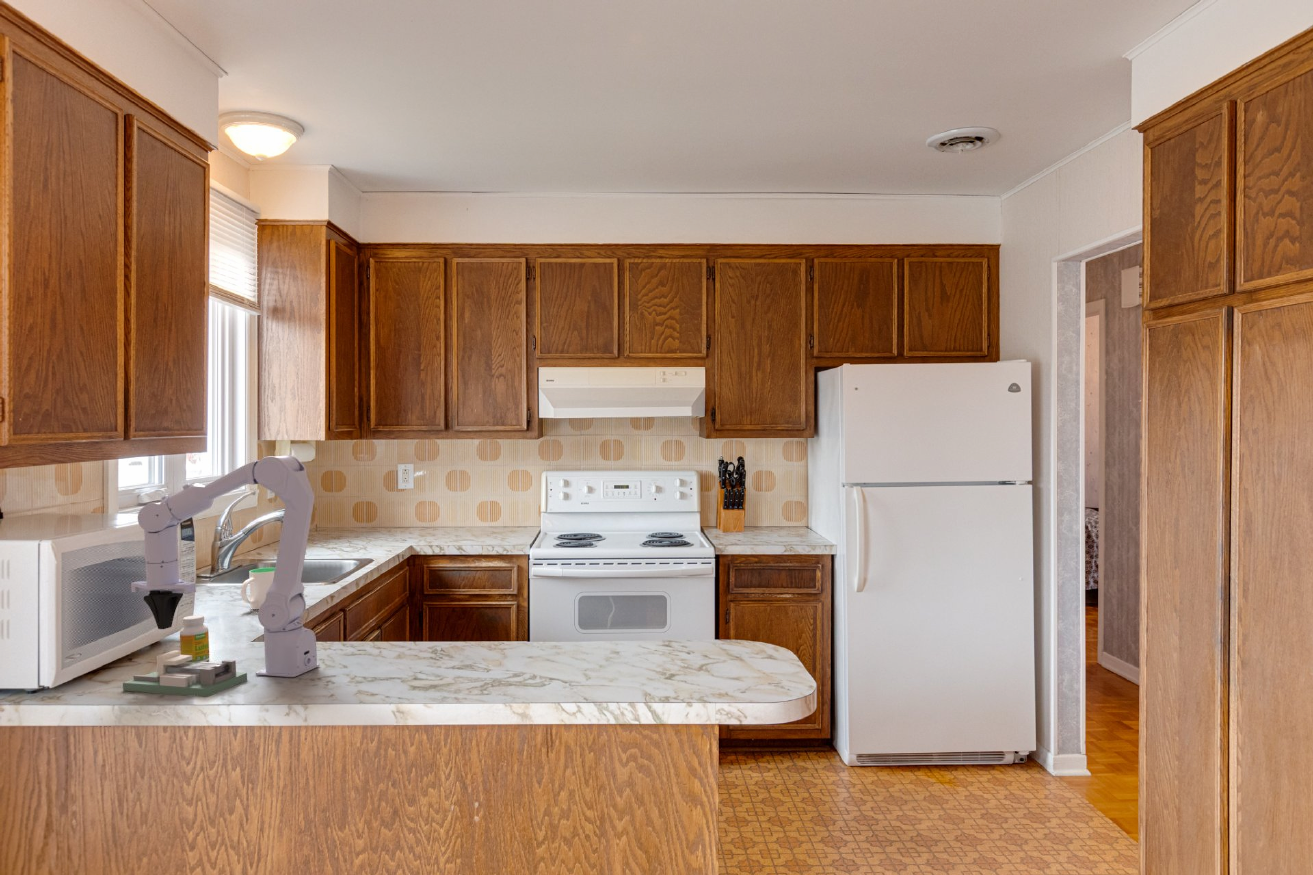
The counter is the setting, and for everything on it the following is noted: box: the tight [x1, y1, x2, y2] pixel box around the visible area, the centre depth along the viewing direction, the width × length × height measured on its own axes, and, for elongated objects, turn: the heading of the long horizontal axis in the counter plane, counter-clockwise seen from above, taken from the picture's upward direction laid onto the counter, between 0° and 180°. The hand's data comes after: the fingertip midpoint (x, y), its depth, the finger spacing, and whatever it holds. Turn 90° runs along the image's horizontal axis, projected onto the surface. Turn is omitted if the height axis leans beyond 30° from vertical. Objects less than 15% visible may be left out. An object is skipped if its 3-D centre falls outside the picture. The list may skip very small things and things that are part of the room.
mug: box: [240, 567, 275, 610], centre depth 231 cm, size 12×8×10 cm, turn 163°
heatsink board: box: [122, 659, 248, 698], centre depth 161 cm, size 20×10×4 cm, turn 74°
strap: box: [166, 662, 229, 676], centre depth 160 cm, size 12×4×2 cm, turn 74°
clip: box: [156, 649, 192, 676], centre depth 162 cm, size 4×4×4 cm
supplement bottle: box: [179, 614, 210, 664], centre depth 178 cm, size 5×5×10 cm
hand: (164, 628), depth 167 cm, fingers closed
